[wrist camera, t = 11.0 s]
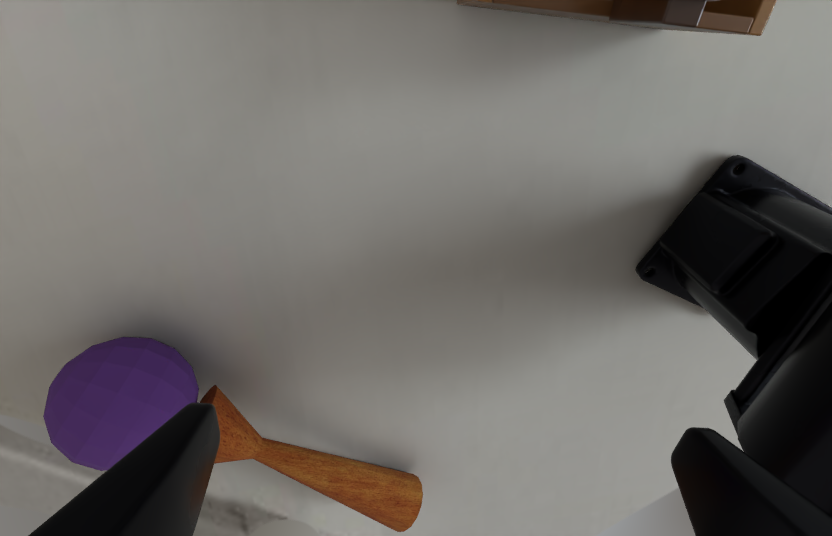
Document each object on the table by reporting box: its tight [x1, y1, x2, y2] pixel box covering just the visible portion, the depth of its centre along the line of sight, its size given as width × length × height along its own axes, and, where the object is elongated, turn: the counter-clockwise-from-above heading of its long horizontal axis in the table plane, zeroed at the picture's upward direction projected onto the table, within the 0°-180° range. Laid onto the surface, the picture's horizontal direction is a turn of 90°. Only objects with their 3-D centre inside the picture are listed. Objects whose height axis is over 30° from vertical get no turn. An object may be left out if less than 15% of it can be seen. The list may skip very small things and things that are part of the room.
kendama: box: [43, 337, 423, 532], centre depth 24 cm, size 6×6×20 cm
